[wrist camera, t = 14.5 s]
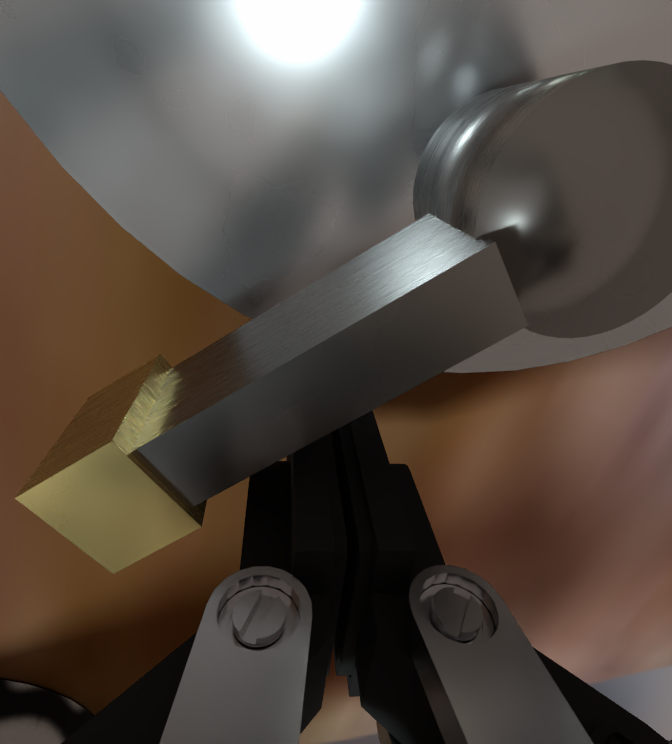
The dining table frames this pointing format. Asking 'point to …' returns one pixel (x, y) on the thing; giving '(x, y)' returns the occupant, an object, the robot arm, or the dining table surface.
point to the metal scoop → (393, 307)
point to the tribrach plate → (293, 123)
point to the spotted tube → (37, 715)
